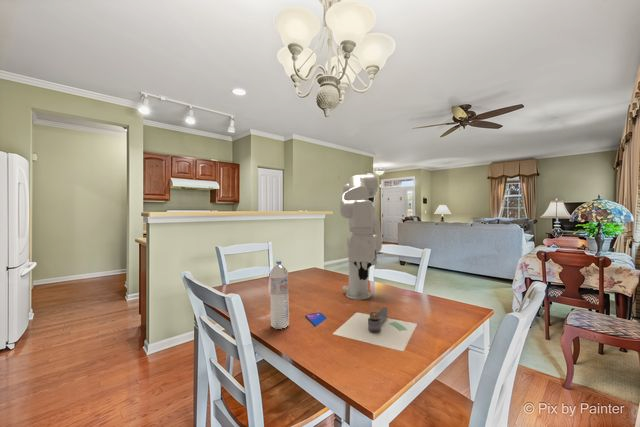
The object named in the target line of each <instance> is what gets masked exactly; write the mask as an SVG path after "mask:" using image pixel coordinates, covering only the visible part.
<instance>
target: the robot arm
mask: <svg viewBox="0 0 640 427" xmlns="http://www.w3.org/2000/svg"><path fill="white" fill-rule="evenodd" d="M378 189H379V179H378V177H377V176H376V175H375V174H355V175H352V176H351V177H349V180H348V183H346V184H344V185H343V188H342V195H341V196H340V200H339V212H340V215H341V217H342V218H343V219H348V227H349V228H348V229H349V232H350V233H352V234H350V235H348V236H347V238H346V248H347V255H348V256H347V258H348V285H342V286H341V287H342V288H341V289H342V291H343V292H345V291H346V294H345V296H346V297H347V298H348V299H350V300H359V301H363V300H368V299H370V298H371V297H372V293H371V292H370V291H369V283H368V282H369V269H370V268H371V267H373V266H376V265H378V261H377V259H378V258H377V257H378V253H379V252H381V250H382V246H383V243H382V242H383V241H382V232H381V222H380V218H379V217H378V216H377V215H376V214H375V211H376V207H375V204H374V203H373V201H372V200H368V199H371V198H374V197H375V196H376V194H377V192H378Z"/></svg>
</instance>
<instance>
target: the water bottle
mask: <svg viewBox="0 0 640 427" xmlns="http://www.w3.org/2000/svg"><path fill="white" fill-rule="evenodd" d="M269 277H270V292H269V294H270V295H269V296H270V297H269V298H270V299H269V300H270V325H271V326H272V327H273V328H277V329H281V330H283V329H282V328H285V329H287V328H288V327H289V326H290V311H289V310H290V309H289V306H290V305H289V304H290V302H289V300H290V299H289V298H290V297H289V271H288V269H287V268H286V267H285V266H284V265H282V260H277V261H276V265H275V266H274V267H272V269H271V270H270V272H269ZM271 326H270V327H271ZM287 326H288V327H287ZM272 327H271V328H272ZM286 327H287V328H286ZM273 328H272V329H273Z"/></svg>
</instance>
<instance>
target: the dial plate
mask: <svg viewBox="0 0 640 427" xmlns="http://www.w3.org/2000/svg"><path fill="white" fill-rule="evenodd" d="M368 318H370V314H367V313H362V312H355V313H354V314H353V315H351V317H350V318H348V319H347V320H346V321H345V322H344V323H343V324H342V325H340V327H338V328H337V329H336V330H335V331H334V332H333V333H332V335H335V336H339V337H343V338H346V339H350V340H355V341H359V342H363V343H367V344H371V345H375V346H378V347H379V346H380V347H383V348H388V349H392V350H395V351H399V352H404V351H405V349H406V347H407V345H408V343H409V341H410V340H411V338H412V336H413V334H414V332H415V329H416V328H417V325H418V323H416V322H409V321H404V320H400V319H393V318H389V317H387V318H386V319H385V321H384V322H383V323H382V324H381V331H380V332H378V333H373V332H370V331H369V330H368Z"/></svg>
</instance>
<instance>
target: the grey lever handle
mask: <svg viewBox="0 0 640 427" xmlns="http://www.w3.org/2000/svg"><path fill="white" fill-rule="evenodd" d="M369 315H370V318H368V330H369V331H370V332H373V333H378V332H380V331H381V324H382V323H383V322H384V321H385V319H386V318H388V307H382V308H381V309H380V310H379V311H378V312H374V311H372V312H369Z"/></svg>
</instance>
